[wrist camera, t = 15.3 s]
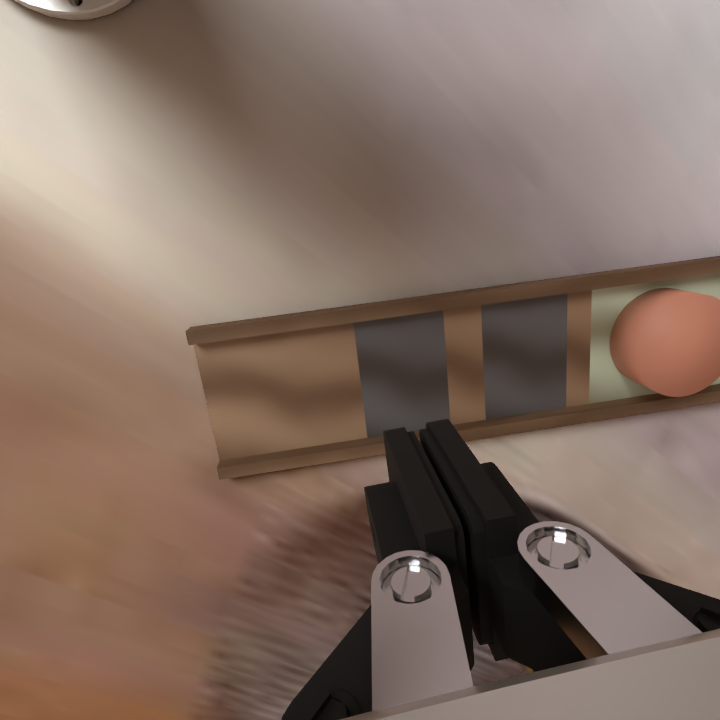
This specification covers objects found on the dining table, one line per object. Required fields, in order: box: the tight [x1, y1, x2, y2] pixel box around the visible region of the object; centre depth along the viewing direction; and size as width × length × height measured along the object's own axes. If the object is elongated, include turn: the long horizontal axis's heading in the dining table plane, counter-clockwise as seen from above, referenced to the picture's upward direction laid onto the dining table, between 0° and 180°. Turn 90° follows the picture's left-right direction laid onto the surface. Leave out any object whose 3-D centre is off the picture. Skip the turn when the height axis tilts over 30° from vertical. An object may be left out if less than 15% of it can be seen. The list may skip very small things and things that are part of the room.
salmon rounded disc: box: [609, 288, 720, 397], centre depth 38 cm, size 8×8×4 cm
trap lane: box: [186, 256, 720, 480], centre depth 38 cm, size 12×44×2 cm, turn 97°
